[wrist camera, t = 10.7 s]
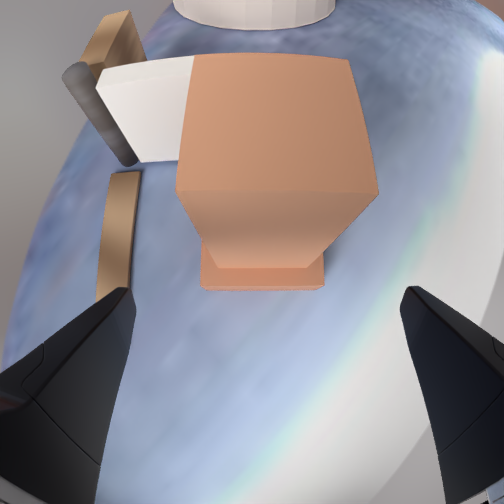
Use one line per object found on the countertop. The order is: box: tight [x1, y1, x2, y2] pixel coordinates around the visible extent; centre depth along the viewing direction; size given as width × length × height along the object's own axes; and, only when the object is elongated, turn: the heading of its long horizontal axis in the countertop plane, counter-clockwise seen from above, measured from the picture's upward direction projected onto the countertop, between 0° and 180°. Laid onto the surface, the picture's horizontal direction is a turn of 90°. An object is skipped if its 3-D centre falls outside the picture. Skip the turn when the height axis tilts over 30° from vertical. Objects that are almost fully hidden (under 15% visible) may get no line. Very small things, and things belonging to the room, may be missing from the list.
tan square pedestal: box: [175, 53, 379, 291], centre depth 14 cm, size 7×7×13 cm
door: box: [96, 56, 194, 162], centre depth 17 cm, size 12×3×9 cm, turn 90°
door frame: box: [62, 10, 147, 302], centre depth 16 cm, size 22×2×10 cm, turn 0°
